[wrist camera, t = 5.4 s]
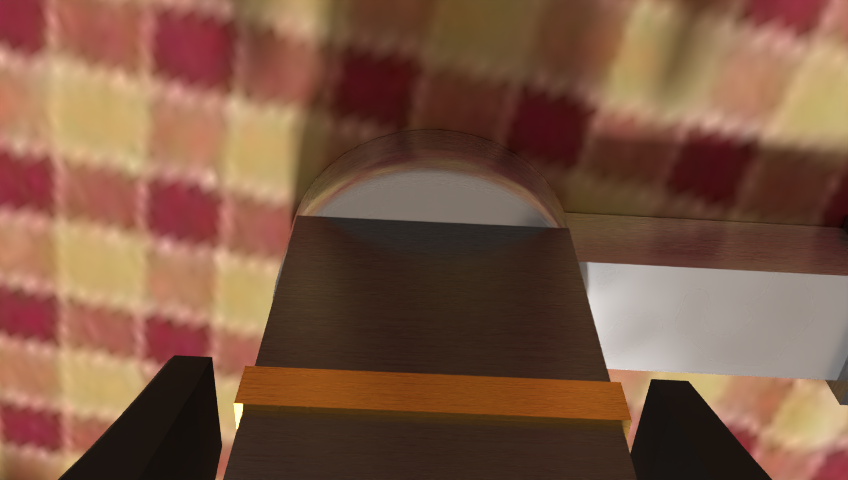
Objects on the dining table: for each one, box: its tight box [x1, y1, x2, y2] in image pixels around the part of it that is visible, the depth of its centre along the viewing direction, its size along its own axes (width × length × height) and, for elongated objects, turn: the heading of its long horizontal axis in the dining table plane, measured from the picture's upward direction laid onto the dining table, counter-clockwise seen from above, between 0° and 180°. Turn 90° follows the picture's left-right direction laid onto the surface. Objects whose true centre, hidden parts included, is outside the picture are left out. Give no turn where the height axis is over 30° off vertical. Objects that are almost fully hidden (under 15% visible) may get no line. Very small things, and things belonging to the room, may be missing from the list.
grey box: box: [223, 215, 637, 480], centre depth 13 cm, size 5×5×6 cm
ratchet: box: [273, 130, 848, 405], centre depth 15 cm, size 18×6×5 cm, turn 87°
